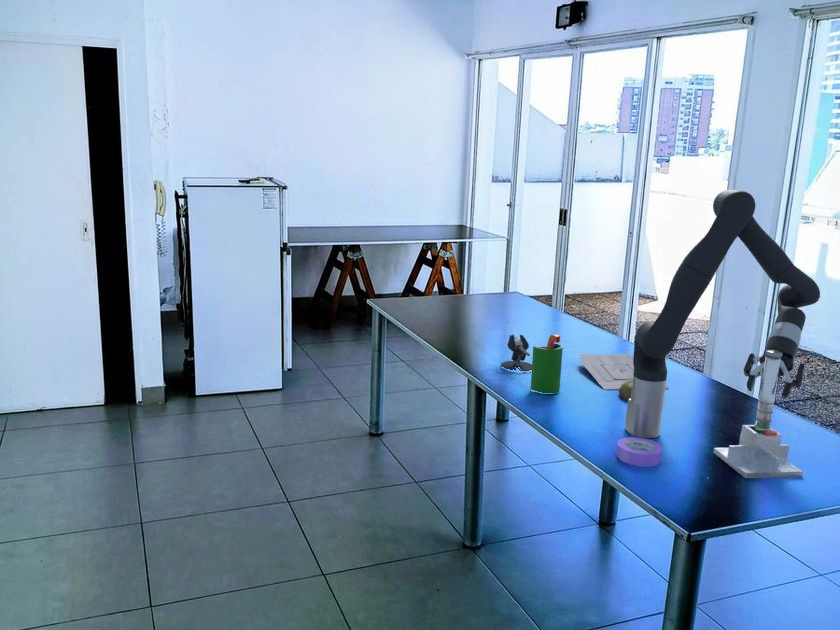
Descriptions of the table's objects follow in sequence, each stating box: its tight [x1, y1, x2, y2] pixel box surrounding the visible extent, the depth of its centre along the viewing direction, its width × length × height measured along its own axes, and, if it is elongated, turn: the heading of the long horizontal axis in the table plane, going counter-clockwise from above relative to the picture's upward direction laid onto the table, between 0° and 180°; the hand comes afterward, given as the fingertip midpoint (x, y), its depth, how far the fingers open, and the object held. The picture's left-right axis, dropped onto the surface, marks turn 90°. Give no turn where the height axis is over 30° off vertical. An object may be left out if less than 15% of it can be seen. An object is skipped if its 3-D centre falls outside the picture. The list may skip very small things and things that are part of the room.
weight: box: [618, 380, 633, 402], centre depth 253 cm, size 14×13×5 cm
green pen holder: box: [530, 333, 564, 394], centre depth 255 cm, size 10×9×20 cm
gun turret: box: [500, 333, 532, 371], centre depth 276 cm, size 13×20×13 cm, turn 13°
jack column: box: [753, 350, 782, 434], centre depth 199 cm, size 4×4×23 cm
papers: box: [578, 353, 669, 390], centre depth 276 cm, size 24×30×4 cm
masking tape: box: [615, 436, 663, 468], centre depth 205 cm, size 12×12×4 cm
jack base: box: [713, 424, 804, 479], centre depth 203 cm, size 17×17×11 cm
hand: (766, 393), depth 198 cm, fingers open, 8 cm apart
